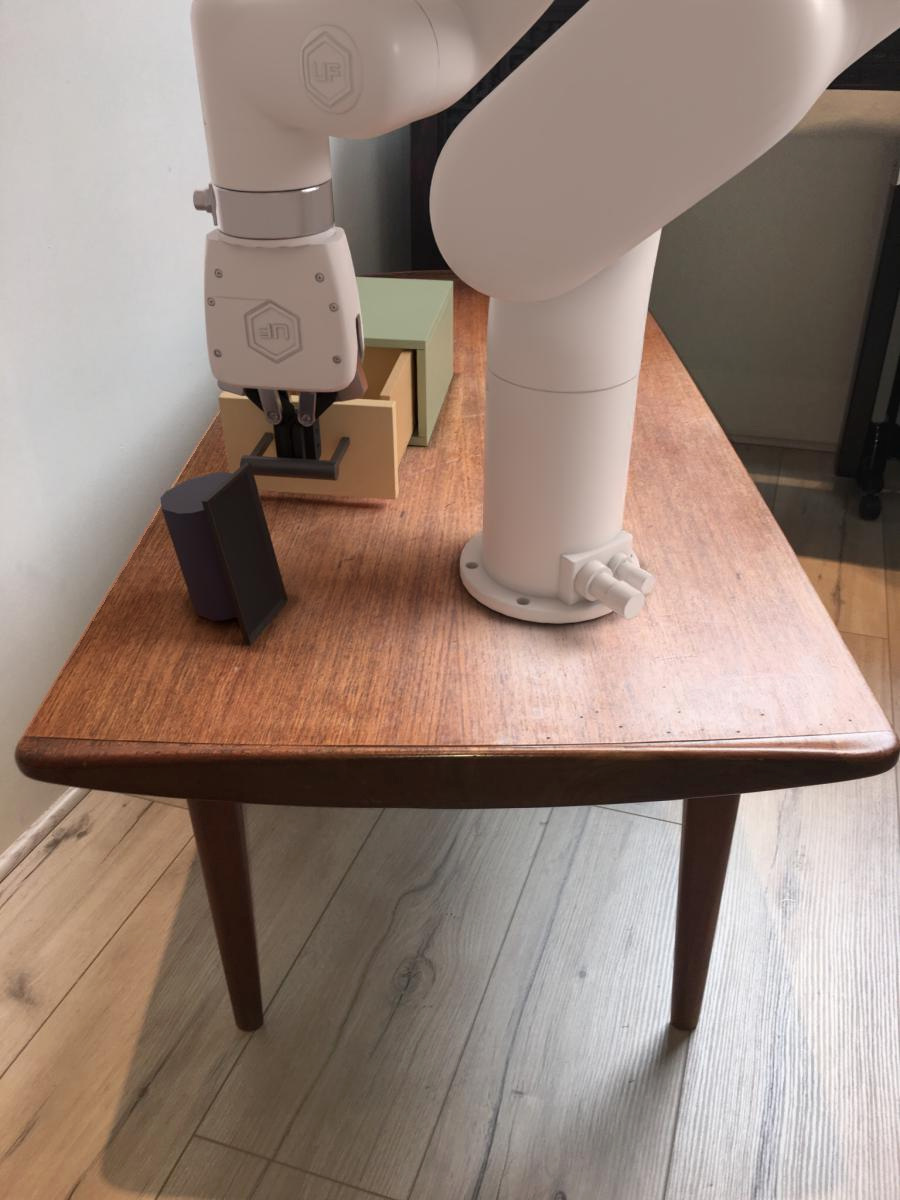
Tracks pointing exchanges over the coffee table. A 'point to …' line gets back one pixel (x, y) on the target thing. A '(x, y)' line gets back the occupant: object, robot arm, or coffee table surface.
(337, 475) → the drawer
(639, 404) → the coffee table surface
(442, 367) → the cabinet
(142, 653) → the coffee table surface
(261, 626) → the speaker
